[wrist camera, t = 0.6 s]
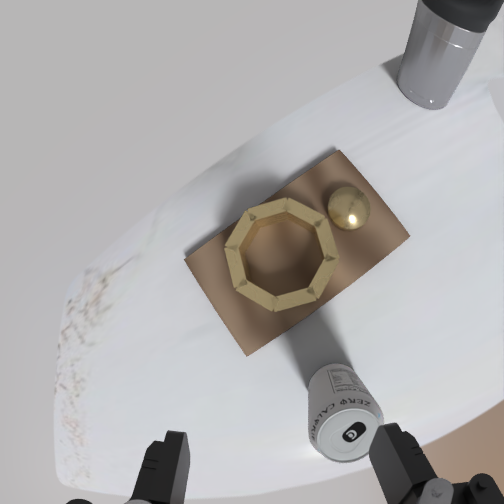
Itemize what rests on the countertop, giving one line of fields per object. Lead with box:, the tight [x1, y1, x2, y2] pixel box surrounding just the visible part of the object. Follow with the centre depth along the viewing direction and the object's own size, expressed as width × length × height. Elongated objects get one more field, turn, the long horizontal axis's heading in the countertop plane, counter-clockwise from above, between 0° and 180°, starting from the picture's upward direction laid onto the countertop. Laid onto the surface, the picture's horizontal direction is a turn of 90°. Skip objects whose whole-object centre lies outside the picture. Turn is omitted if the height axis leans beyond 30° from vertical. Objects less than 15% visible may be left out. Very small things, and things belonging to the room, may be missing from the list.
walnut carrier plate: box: [184, 150, 410, 356], centre depth 35 cm, size 24×14×1 cm, turn 125°
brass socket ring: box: [224, 187, 371, 312], centre depth 33 cm, size 17×12×4 cm
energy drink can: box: [308, 363, 384, 463], centre depth 25 cm, size 6×6×15 cm
